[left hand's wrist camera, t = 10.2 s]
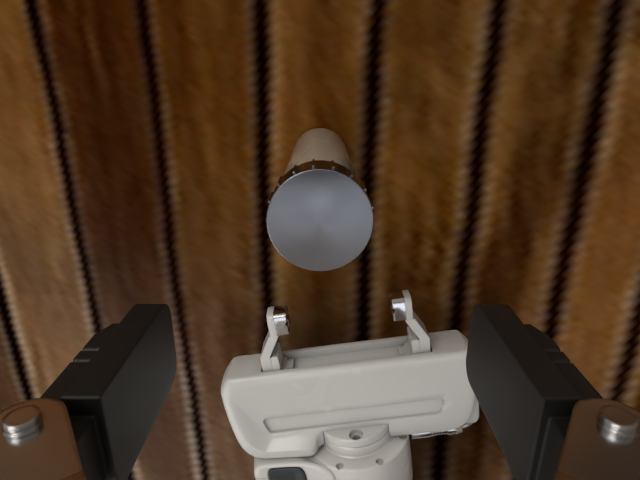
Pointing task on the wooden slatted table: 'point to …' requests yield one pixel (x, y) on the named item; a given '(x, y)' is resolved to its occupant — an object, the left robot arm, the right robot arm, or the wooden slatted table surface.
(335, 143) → the beige tall cylinder
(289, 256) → the lid
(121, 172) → the wooden slatted table surface
